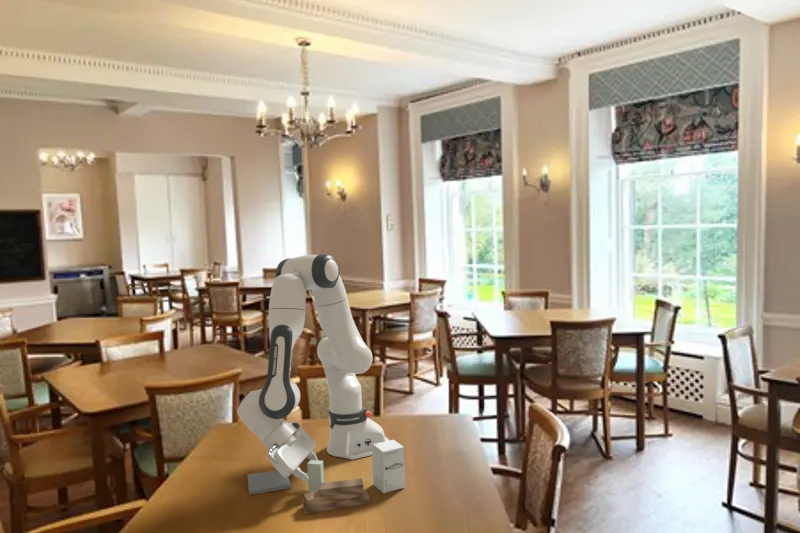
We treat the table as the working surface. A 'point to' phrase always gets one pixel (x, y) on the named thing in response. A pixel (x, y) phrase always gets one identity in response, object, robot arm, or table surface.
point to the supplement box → (388, 466)
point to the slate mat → (267, 482)
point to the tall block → (315, 475)
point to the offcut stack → (335, 496)
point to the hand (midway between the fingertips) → (313, 472)
